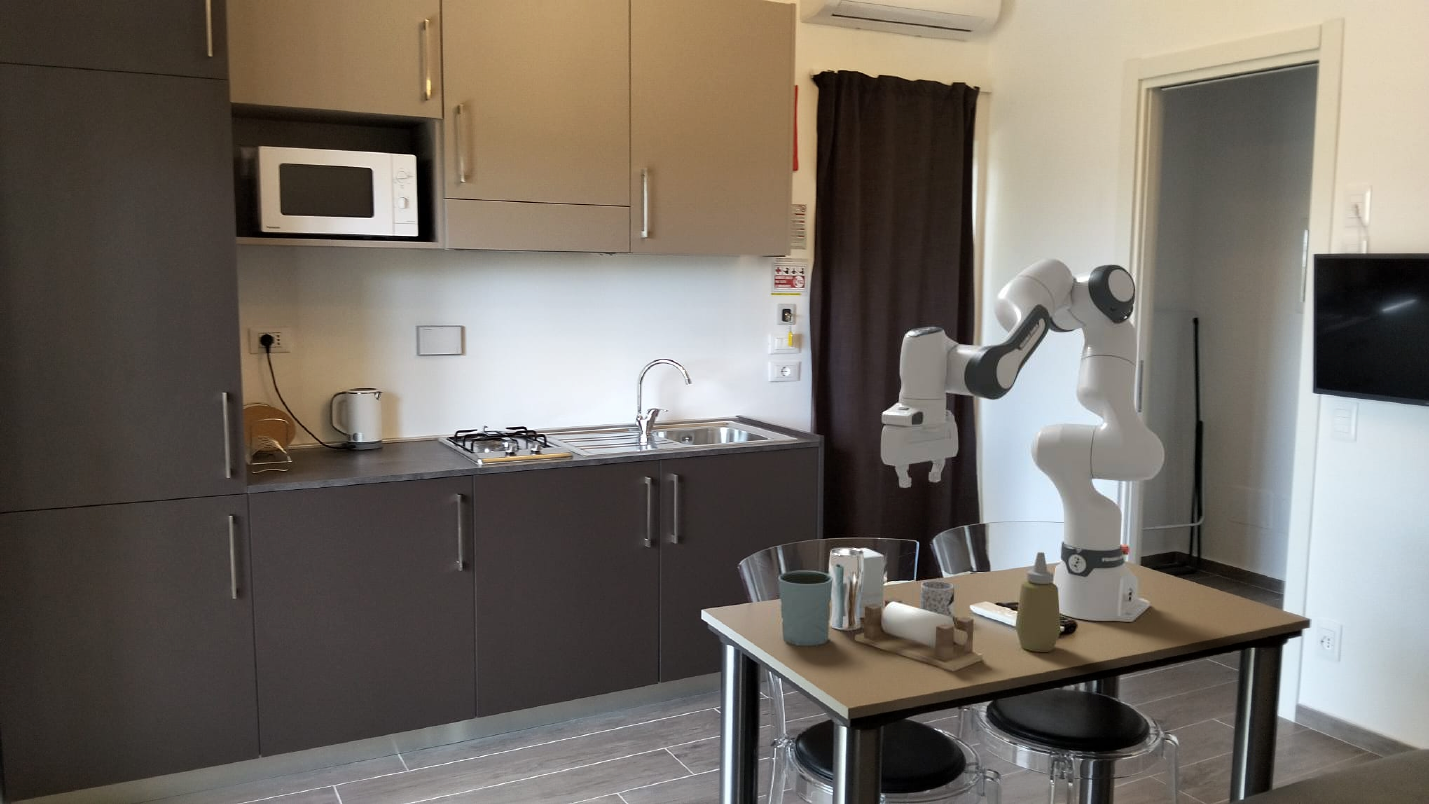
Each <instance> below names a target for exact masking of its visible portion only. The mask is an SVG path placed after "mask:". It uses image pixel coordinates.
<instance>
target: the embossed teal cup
mask: <svg viewBox="0 0 1429 804" xmlns="http://www.w3.org/2000/svg"><path fill="white" fill-rule="evenodd" d="M777 580H778V587H779V588H778V589H779V599H780V611H781V613H780V614H781V615H780V616H781V619H782V623H781V625H782V628H781V629H782V638H783V640H784V642H786V641H787V642H786V643H788V642H789V643H788V644H791V643H792V644H791V645H794V644H798V645H797V646H800V645H806V646H805V647H813V646H812V645H816V646H820V645H824V644H825V643H827V642H828V640H829V627H830V617H831V616H830V614H831V604H830V603H831V602H832V598H831V591H832V582H833V578H832V577H831V576H830V575H829V573H825V572H822V571H817V570H793V571H786V572H783V573H781V574H779V576H778V579H777ZM819 644H820V645H819ZM809 645H811V646H809Z"/></svg>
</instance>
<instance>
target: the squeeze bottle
mask: <svg viewBox="0 0 1429 804" xmlns="http://www.w3.org/2000/svg"><path fill="white" fill-rule="evenodd" d="M1034 561H1035V562H1034V564H1033V568H1032V569H1028V570H1027V571H1026V580H1025V581H1024V582H1022V583H1021V585H1020V592H1019V598H1018V606H1017V612H1016V619H1015V630H1016V634H1017V637H1018V641H1019V644H1020V647H1021V648H1022V649H1025V650H1028V651H1030V652H1040V653H1044V652H1047V653H1048V652H1052V651H1054V649H1055V646H1056V643H1057V641H1058V639H1059V637H1060V633H1061V628H1062V627H1061V615H1060V614H1061V613H1060V612H1059V596H1058V587H1057V586H1056V585H1055V584H1054V573H1053V572H1052V571H1050V570H1048V566H1047V561H1046V556H1045V552H1043V551H1038V552H1037V554H1036V557H1035V560H1034Z"/></svg>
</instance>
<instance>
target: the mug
mask: <svg viewBox="0 0 1429 804" xmlns="http://www.w3.org/2000/svg"><path fill="white" fill-rule="evenodd" d="M919 603H920V604H919V607H920V608H919V609H923V610H927V611H930V612H934V613H938V614H941V615H945V616H949V617H951V618H952V620H953V621H954V614H955V613H954V609H955V608H954V607H955V606H954V605H955V585H954V584H953V583H951V582H947V581H940V580H928V581H923V582H921V583H920V602H919Z"/></svg>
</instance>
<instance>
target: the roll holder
mask: <svg viewBox="0 0 1429 804" xmlns="http://www.w3.org/2000/svg"><path fill="white" fill-rule="evenodd" d="M891 602H897V603H901V604H903V603H902V602H903V600H902V599H899V598H895V597H892V598H889V599H886V600H884V608H885V607H886V606H887V605H888V604H889V603H891ZM881 615H882V606H879V605H875V604H871V605H868V606H865V618H864V620H863V621H864V622H863V623H864V625H863V627H864V628H863V629H864V630H863V632H861V633H858V634H855V635H854V641H856V642H859V643H862V644H865V645H869V646H871V647H875V648H878V649H880V650H884V651H887V652H890V653H894V654H897V655H900V656H904V657H906V658H909V659H913V660H916V661H919V662H922V663H926V664H929V665H931V666H935V667H939V668H941V669H945V670H947V671H951V672H956V671H958V670H961V669H963V668H965V667H968V666H970V665H972V664H975V663H978V662H980V661H983V654H982V653H979V652H976V651H973V650H974V649H973V645H974V644H973V643H974V621H975V620H974V619H973V618H969V617H966V616H963V617H960V618H957V619H956V620H955V625H954V626H951V625H948V624H942V625H939V626H936V645H935V647H931V646H928V645H925V644H921V643H918V642H915V641H911V640H908V639H905V638H901V637H898V636H895V635H891V634H888V633H886V632H885V631H884V630H883V628H882V624H881ZM954 627H955V629H958V630H961V631H965V632H967V635H968V638H967V642H966V643H965V644H964V645H961V644H957V643H954V642H953V640H954Z"/></svg>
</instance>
